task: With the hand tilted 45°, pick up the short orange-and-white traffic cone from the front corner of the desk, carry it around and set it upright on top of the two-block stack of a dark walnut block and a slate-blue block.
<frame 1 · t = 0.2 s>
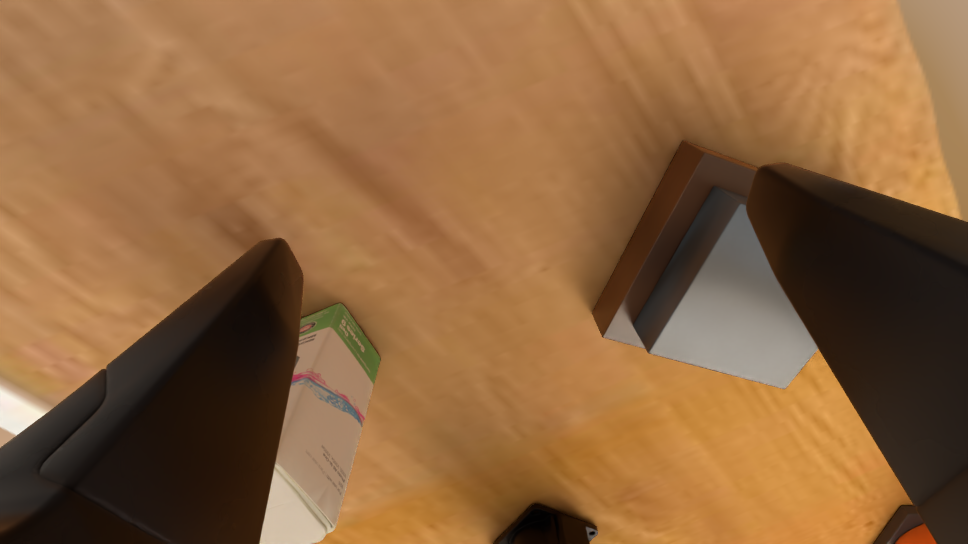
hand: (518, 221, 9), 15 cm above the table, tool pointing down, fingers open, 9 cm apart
block stack: (716, 261, 27), on the table
cone: (920, 531, 41), on the table
ink box: (304, 350, 29), on the table
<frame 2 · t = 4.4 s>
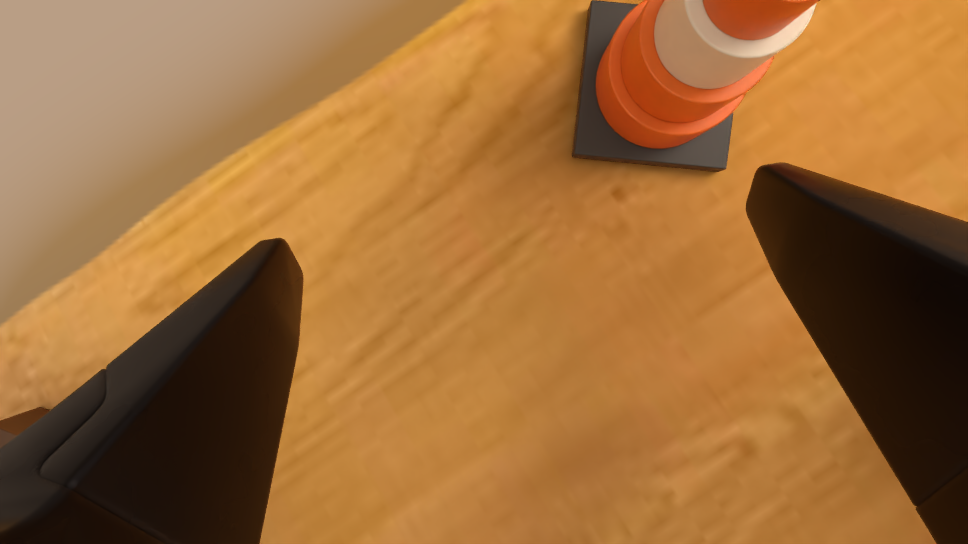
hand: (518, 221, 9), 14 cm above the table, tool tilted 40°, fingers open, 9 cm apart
block stack: (102, 541, 25), on the table
cone: (653, 90, 23), on the table
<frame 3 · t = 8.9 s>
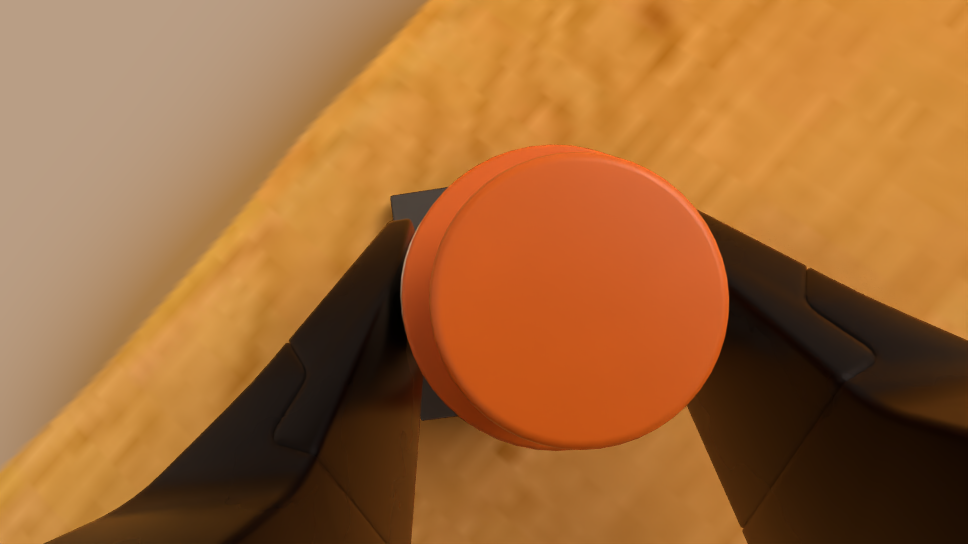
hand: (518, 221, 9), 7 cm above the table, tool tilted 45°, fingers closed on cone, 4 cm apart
cone: (517, 291, 16), on the table, touching gripper
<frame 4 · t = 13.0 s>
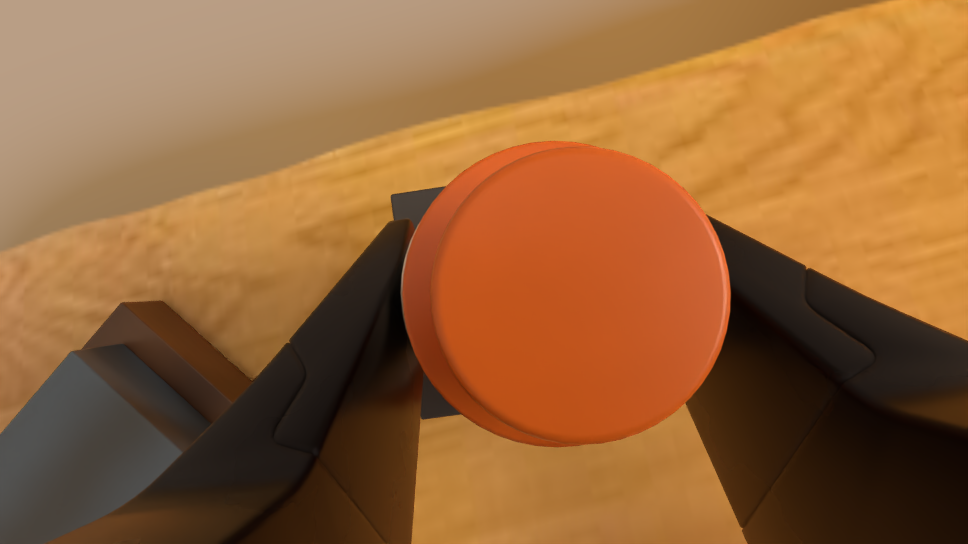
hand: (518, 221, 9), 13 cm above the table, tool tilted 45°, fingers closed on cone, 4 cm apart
block stack: (170, 460, 23), on the table
cone: (517, 289, 16), point 7 cm above the table, touching gripper
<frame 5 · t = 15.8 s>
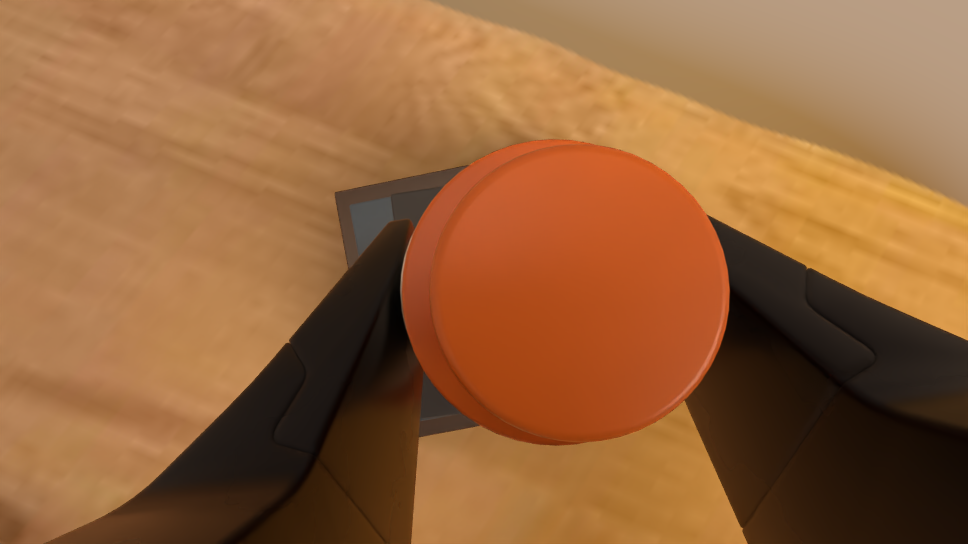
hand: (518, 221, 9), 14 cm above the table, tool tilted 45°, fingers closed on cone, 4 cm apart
block stack: (484, 291, 23), on the table
cone: (517, 289, 16), point 7 cm above the table, touching gripper
when the fingers open (12 cm above the table, at t = 17.4 s): cone stays where it is, resting on block stack.
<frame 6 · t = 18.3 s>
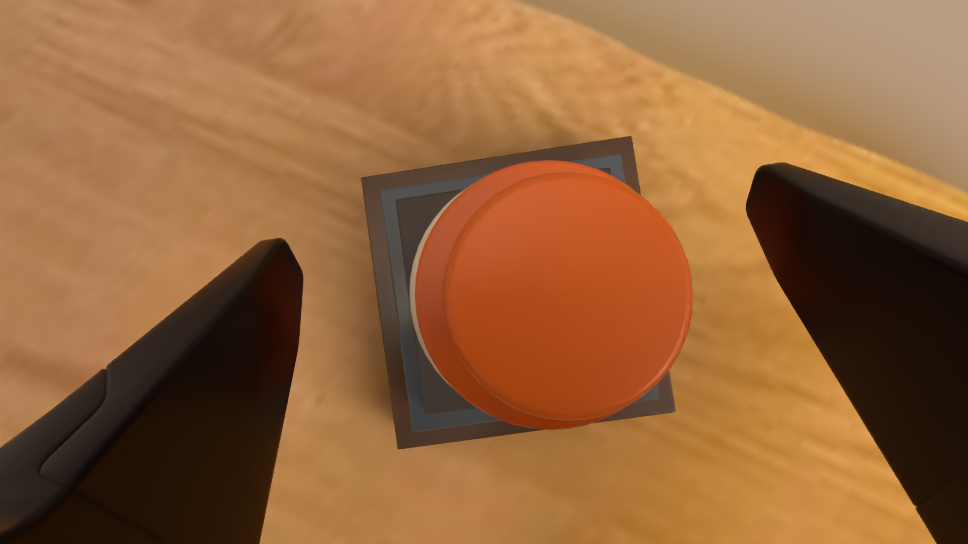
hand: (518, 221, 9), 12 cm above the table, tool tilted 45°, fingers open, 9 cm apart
block stack: (513, 291, 21), on the table
cone: (516, 290, 16), point 5 cm above the table, touching block stack
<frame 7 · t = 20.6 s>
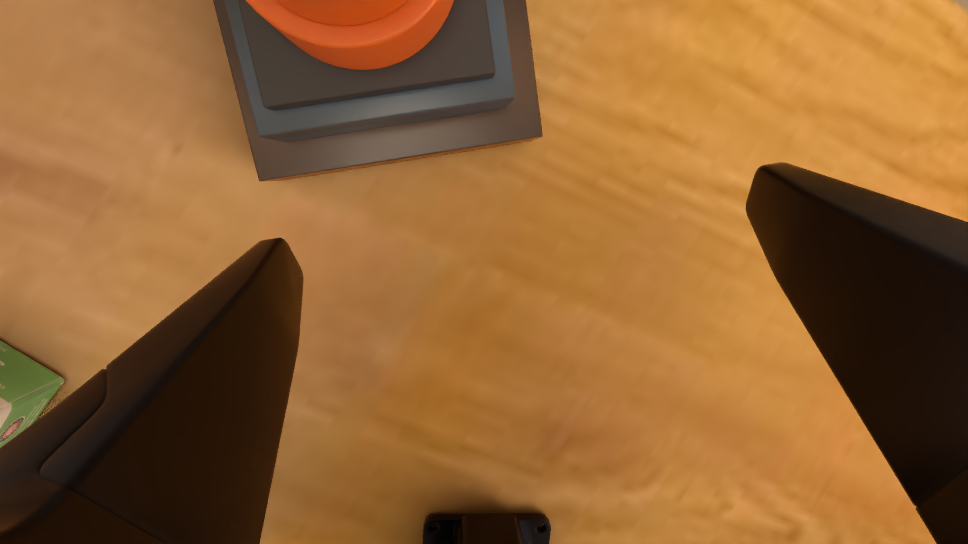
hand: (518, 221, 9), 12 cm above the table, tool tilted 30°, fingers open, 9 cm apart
block stack: (382, 24, 19), on the table
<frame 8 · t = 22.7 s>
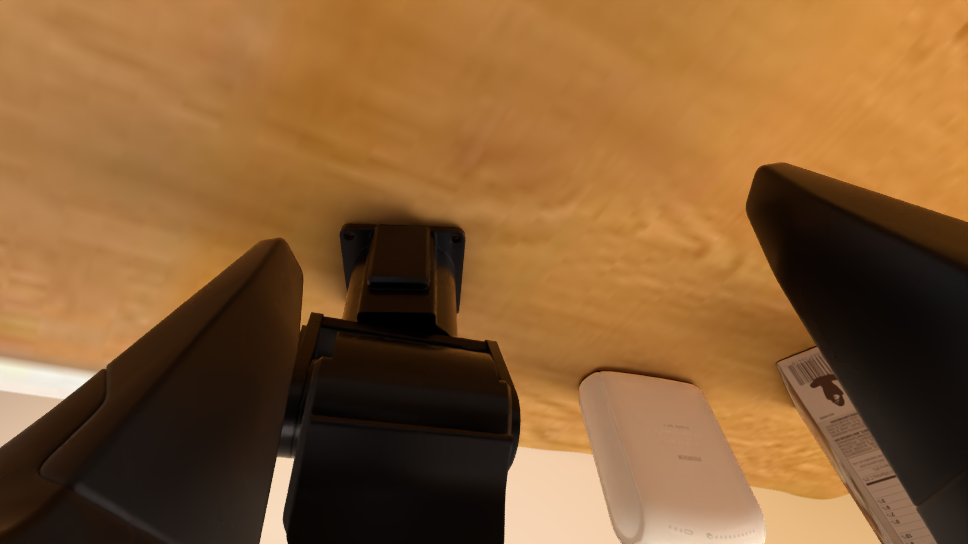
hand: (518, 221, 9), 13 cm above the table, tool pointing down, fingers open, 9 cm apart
coffee box: (823, 370, 38), on the table
photo printer: (637, 385, 37), on the table
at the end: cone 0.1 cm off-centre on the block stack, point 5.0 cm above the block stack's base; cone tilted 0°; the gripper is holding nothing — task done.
